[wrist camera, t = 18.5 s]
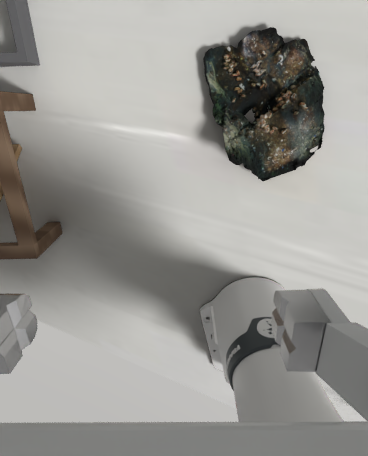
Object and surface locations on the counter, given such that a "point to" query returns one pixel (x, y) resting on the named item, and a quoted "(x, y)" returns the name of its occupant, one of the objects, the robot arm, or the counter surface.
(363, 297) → the counter surface
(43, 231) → the trapdoor frame
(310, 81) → the decorative rock
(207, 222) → the counter surface
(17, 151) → the trapdoor
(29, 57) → the cup mat rim
